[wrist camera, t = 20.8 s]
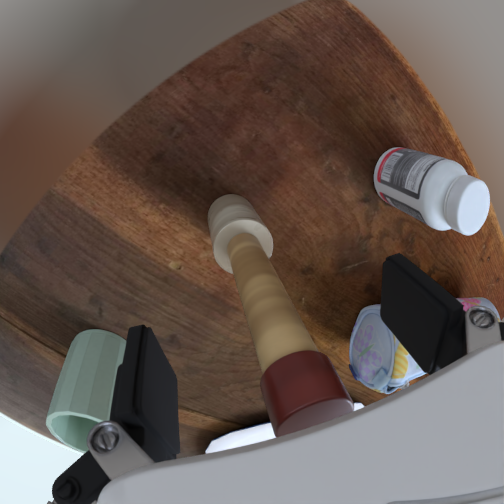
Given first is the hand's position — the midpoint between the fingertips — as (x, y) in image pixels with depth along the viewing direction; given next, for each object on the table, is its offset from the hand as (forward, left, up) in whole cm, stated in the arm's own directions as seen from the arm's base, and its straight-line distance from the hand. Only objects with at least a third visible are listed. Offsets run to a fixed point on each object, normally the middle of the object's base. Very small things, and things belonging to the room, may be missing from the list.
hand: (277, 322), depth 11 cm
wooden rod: (0, 0, -14) cm, 14 cm away
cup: (+11, -16, -14) cm, 24 cm away
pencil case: (+18, +19, -14) cm, 30 cm away
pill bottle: (0, +15, -14) cm, 20 cm away
